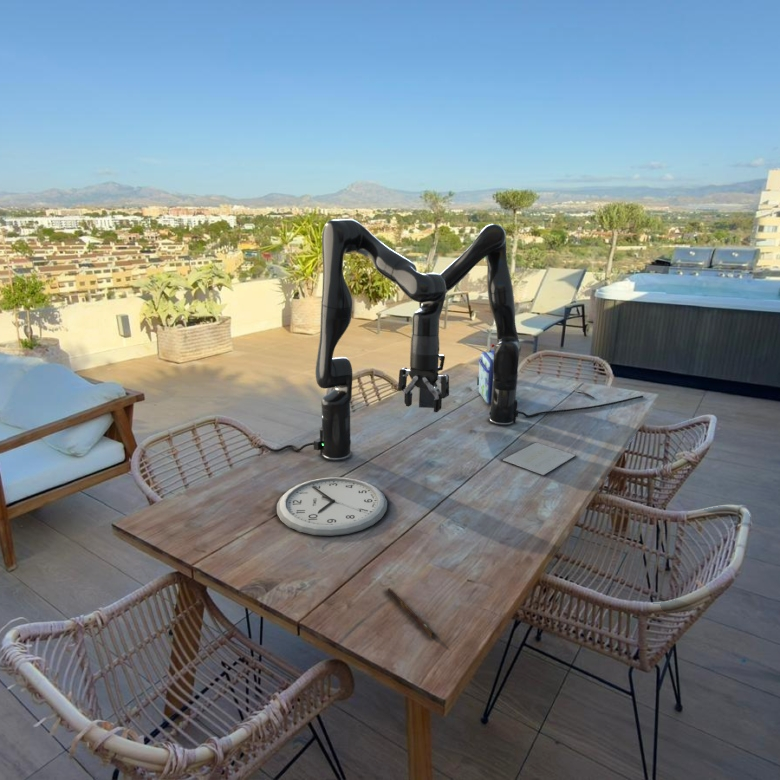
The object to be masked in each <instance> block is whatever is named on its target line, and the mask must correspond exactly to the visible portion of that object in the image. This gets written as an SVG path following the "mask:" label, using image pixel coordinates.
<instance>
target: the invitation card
mask: <svg viewBox="0 0 780 780" xmlns="http://www.w3.org/2000/svg"><path fill="white" fill-rule="evenodd" d="M576 456H577V455H576V454H573V453H570V452H567V451H565V450H561V449H558V448H555V447H552V446H549V445H546V444H543V443H539V442H534V443H532V444H529V445H528V446H526V447H524V448H522V449H520V450H518V451H516V452H514V453H512V454H510V455H509V456H507V457H505V458H503V459H502V461H503V462H506V463H509V464H511V465H514V466H518V467H520V468H523V469H525V470H528V471H531V472H534V473H536V474H539V475H541V476H545V475H547V474H548V473H550V472H552V471H554V469H556V468H558V467H559V466H561V465H563V464H564V463H566V462H568V461H570V460H571V459H572V458H574V457H576Z"/></svg>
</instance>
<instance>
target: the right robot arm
mask: <svg viewBox="0 0 780 780" xmlns="http://www.w3.org/2000/svg"><path fill="white" fill-rule="evenodd" d="M483 259H486V268H487V273H486V289H487V298H488V304H489V309H490V312H491V315H492V318H493V321H494V324H495V329H496V347H495V350H494V360H493V385H492V398H491V404H490V410H489V415H488V416H489V422H490V423H491V424H494V425H497V426H511V425H513V424H516V423H517V418H518V417H519V415H523V416H524V417H526V418H533V417H535V416H536V417H537V416H539V415H546V414H554V413H564V412H565V413H566V412H573V411H581V410H588V409H595V408H600V407H606V406H607V407H608V406H612V405H617V404H620V403H625V402H628V401H634V400H636V399H638V400H639V399H642V398H644V395H638V396H634V397H629V398H626V399H621V400H617V401H613V402H608V403H603V404H596V405H591V406H581V407H575V408H566V409H558V410H546V411H539V412H535V413H532V414H527V413H525V412H523V411H520V410H518V399H517V388H518V377H519V373H518V371H519V360H520V355H521V351H522V349H521V348H522V347H521V344H520V339H519V335H518V331H517V326H516V306H515V296H514V288H513V282H512V278H511V277H512V276H511V273H510V268H509V265H508V256H507V232H506V231H505V229H504V227H503V226H502V225H499V224H495V223H491V224H488V225H485V227H483V228H482V230H481V231H480V233H479V234H478V236H477V237H476V238H475V239H474V241H473V242H472V243H471V245H470V246H469V247H468V248H467V249H466V250H465V251H464V252H463V253H462V254H461V255H460V256H458V258H456V259H455V260H453V262H452V263H451V264H449V265H448V266H447V267H446V268H445V269H444V270H443V271H442V272H441V273H440V274H439V275H441V276H442V277H443V279H444V281H445V284H446V294H447V293H448V292H449V291H451V290H452V289H454V287H456V286H457V285H458V284H459V283H460V282H461V281H462V280H463V279H464V278H465V277H466V276H467V275H468V274H469V273H470V272H471V271H472V269H474V267H475V266H476V265H478V263H480V262H481V261H482V260H483ZM418 304H419V309H420V308H421V304H422V302H418ZM445 360H446V355H445V354H439V361H440V363H439V366H438V372H439V371H443V370H444V364H445Z"/></svg>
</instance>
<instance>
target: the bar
mask: <svg viewBox="0 0 780 780" xmlns="http://www.w3.org/2000/svg"><path fill="white" fill-rule="evenodd" d="M433 387H434V386H433ZM434 399H435V397H434V395H433V394H432V393H431V392H430V391H429V389H424V388H422V387H420V388H418V408H425V409H434Z"/></svg>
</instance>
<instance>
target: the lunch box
mask: <svg viewBox="0 0 780 780" xmlns="http://www.w3.org/2000/svg"><path fill="white" fill-rule="evenodd" d="M493 360H494V350H491V352H489V351H482V352H481V354H480V358H479V360H478V377H477V381H476V384H477V385H476V386H478V393H479V395H480V396H481V397H482V399H483V400H484V402H485V404H487V405H488V406H489V405H490V406H491V398H492V385H493Z"/></svg>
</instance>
